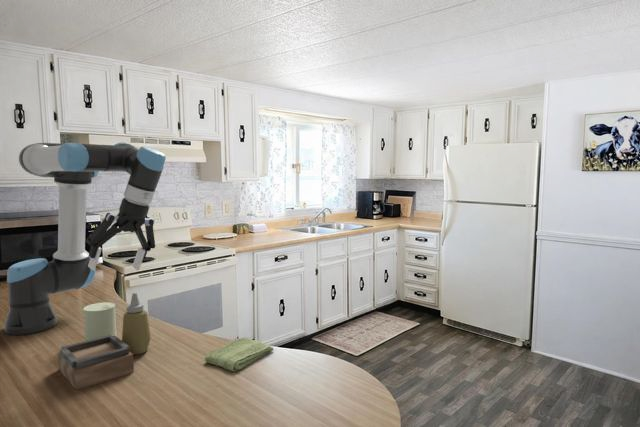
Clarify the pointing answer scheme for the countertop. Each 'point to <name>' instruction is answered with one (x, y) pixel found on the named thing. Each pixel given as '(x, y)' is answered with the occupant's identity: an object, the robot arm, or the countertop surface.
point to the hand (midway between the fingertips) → (114, 268)
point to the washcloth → (238, 354)
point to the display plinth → (95, 361)
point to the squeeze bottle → (136, 327)
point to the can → (99, 320)
